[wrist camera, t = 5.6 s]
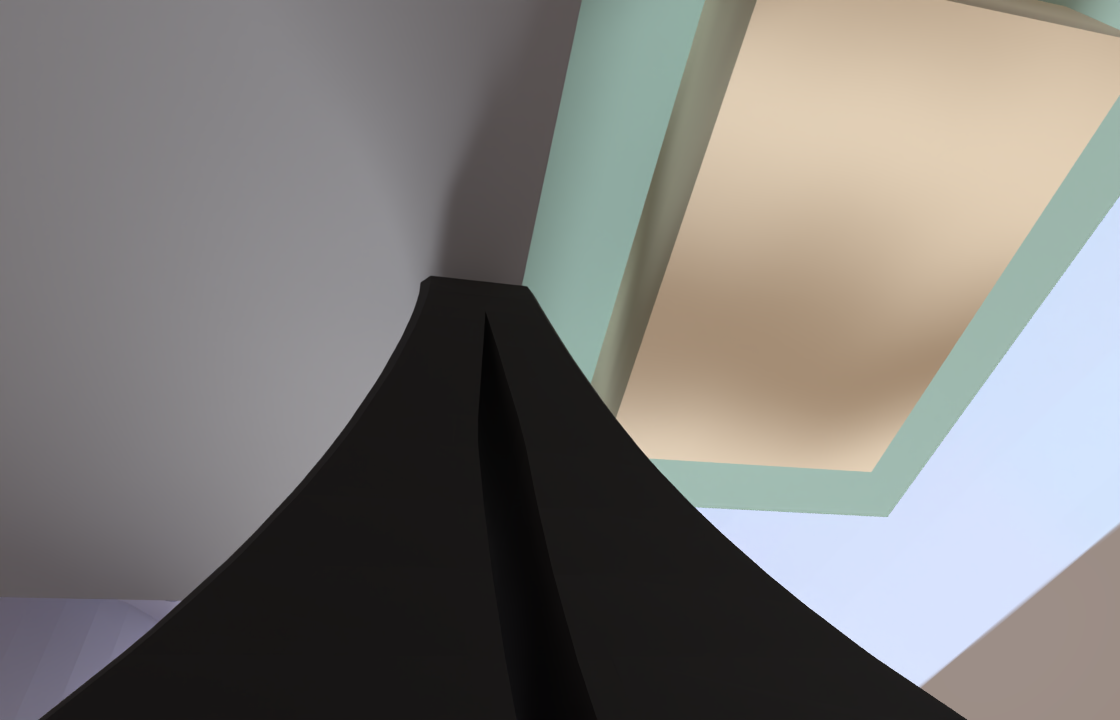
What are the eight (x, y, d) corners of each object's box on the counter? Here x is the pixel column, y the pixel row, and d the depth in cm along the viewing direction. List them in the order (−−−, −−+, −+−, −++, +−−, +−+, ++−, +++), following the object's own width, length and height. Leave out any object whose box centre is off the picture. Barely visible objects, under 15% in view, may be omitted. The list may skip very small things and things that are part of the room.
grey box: (453, 456, 18) (454, 606, 15) (-142, 419, 15) (-291, 591, 12) (589, -325, 9) (656, -355, 6) (-698, -705, 7) (-1639, -1066, 4)
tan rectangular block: (603, 455, 15) (589, 389, 17) (871, 472, 16) (835, 408, 18) (769, -38, 10) (725, -69, 11) (1153, 45, 11) (1065, 6, 12)
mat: (882, 508, 21) (887, 517, 21) (449, 485, 18) (449, 494, 18) (1375, -186, 11) (1394, -184, 11) (609, -439, 9) (613, -444, 9)
